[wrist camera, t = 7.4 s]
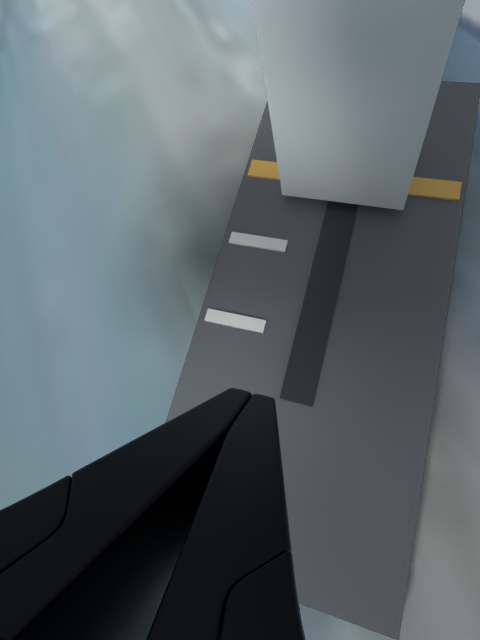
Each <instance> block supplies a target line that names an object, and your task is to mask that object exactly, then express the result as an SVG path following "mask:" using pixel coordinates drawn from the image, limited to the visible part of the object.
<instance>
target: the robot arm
mask: <svg viewBox="0 0 480 640" xmlns="http://www.w3.org/2000/svg"><path fill="white" fill-rule="evenodd" d="M291 550H292V548H291V539H290V530H289V520H288V511H287V502H286V493H285V484H284V475H283V466H282V457H281V448H280V439H279V430H278V421H277V412H276V403H275V399H274V398H272V397H268V396H264V395H260V394H253V395H252V394H251V392H248V391H245V390H241V389H237V388H229V389H227V390H225V391H224V392H222V393H220V394H218V395H216V396H214V397H212V398H211V399H209V400H207V401H205V402H203V403H201V404H199V405H198V406H196V407H194V408H192V409H190V410H188V411H187V412H185V413H183V414H181V415H179V416H177V417H175V418H174V419H172V420H170V421H168V422H166V423H164V424H162V425H161V426H159V427H157V428H155V429H153V430H151V431H150V432H148V433H146V434H144V435H142V436H140V437H138V438H137V439H135V440H133V441H131V442H129V443H127V444H125V445H124V446H122V447H120V448H118V449H116V450H114V451H112V452H111V453H109V454H107V455H105V456H103V457H101V458H100V459H98V460H96V461H94V462H92V463H90V464H88V465H87V466H85V467H83V468H81V469H79V470H77V471H75V472H74V473H73V474H72V478H71V476H66V477H64V478H62V479H60V480H58V481H57V482H55V483H53V484H51V485H49V486H47V487H45V488H43V489H42V490H40V491H38V492H36V493H34V494H32V495H30V496H28V497H26V498H24V499H22V500H20V501H18V502H16V503H14V504H12V505H10V506H8V507H6V508H4V509H2V510H0V640H305V635H304V630H303V626H302V621H301V615H300V608H299V601H298V594H297V588H296V581H295V573H294V563H293V555H292V553H291Z"/></svg>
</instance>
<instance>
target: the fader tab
mask: <svg viewBox="0 0 480 640" xmlns="http://www.w3.org/2000/svg"><path fill="white" fill-rule="evenodd" d="M464 3H465V0H252V6H253V12H254V18H255V25H256V31H257V37H258V44H259V50H260V56H261V63H262V69H263V75H264V82H265V88H266V94H267V101H268V107H269V114H270V120H271V126H272V133H273V139H274V145H275V152H276V158H277V164H278V171H279V177H280V183H281V190H282V195H287V196H294V197H302V198H310V199H318V200H326V201H334V202H342V203H350V204H357V205H365V206H373V207H381V208H389V209H397V210H403V209H404V206H405V203H406V199H407V196H408V193H409V189H410V186H411V182H412V179H413V176H414V172H415V169H416V165H417V162H418V159H419V155H420V152H421V148H422V145H423V142H424V138H425V135H426V131H427V128H428V125H429V121H430V118H431V114H432V111H433V108H434V104H435V101H436V98H437V94H438V91H439V87H440V84H441V81H442V77H443V74H444V70H445V67H446V64H447V60H448V57H449V53H450V50H451V47H452V43H453V40H454V36H455V33H456V30H457V26H458V23H459V19H460V16H461V13H462V9H463V6H464Z"/></svg>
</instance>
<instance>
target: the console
mask: <svg viewBox="0 0 480 640" xmlns="http://www.w3.org/2000/svg"><path fill="white" fill-rule="evenodd" d="M479 98H480V83H462V82H443V81H441V84H440V87H439V91H438V94H437V98H436V101H435V104H434V108H433V111H432V114H431V118H430V121H429V125H428V128H427V131H426V135H425V138H424V142H423V145H422V148H421V152H420V155H419V159H418V162H417V165H416V169H415V172H414V176H413V179H412V182H411V186H410V189H409V193H408V196H407V199H406V203H405V206H404V209H403V210H397V209H389V208H381V207H373V206H365V205H357V204H350V203H342V202H334V201H326V200H318V199H310V198H302V197H294V196H287V195H282V190H281V183H280V177H279V171H278V164H277V158H276V152H275V145H274V139H273V133H272V126H271V120H270V114H269V107H268V101H267V104H266V107H265V110H264V113H263V116H262V120H261V123H260V126H259V129H258V132H257V135H256V139H255V142H254V145H253V148H252V151H251V154H250V157H249V161H248V164H247V167H246V170H245V173H244V176H243V180H242V183H241V186H240V189H239V192H238V195H237V199H236V202H235V205H234V208H233V211H232V214H231V217H230V221H229V224H228V227H227V230H226V233H225V236H224V240H223V243H222V246H221V249H220V252H219V255H218V258H217V262H216V265H215V268H214V271H213V274H212V277H211V281H210V284H209V287H208V290H207V293H206V296H205V300H204V303H203V306H202V309H201V312H200V315H199V318H198V322H197V325H196V328H195V331H194V334H193V337H192V341H191V344H190V347H189V350H188V353H187V356H186V359H185V363H184V366H183V369H182V372H181V375H180V378H179V382H178V385H177V388H176V391H175V394H174V397H173V401H172V404H171V407H170V410H169V413H168V416H167V419H166V422H168V421H170V420H172V419H174V418H175V417H177V416H179V415H181V414H183V413H185V412H187V411H188V410H190V409H192V408H194V407H196V406H198V405H199V404H201V403H203V402H205V401H207V400H209V399H211V398H212V397H214V396H216V395H218V394H220V393H222V392H224V391H225V390H227V389H229V388H237V389H241V390H245V391H248V392H251V394H252V395H253V394H260V395H264V396H268V397H272V398H274V399H275V403H276V412H277V421H278V430H279V439H280V448H281V457H282V466H283V475H284V484H285V493H286V502H287V511H288V520H289V530H290V539H291V548H292V550H291V553H292V555H293V563H294V573H295V581H296V588H297V594H298V601H299V604H302V605H305V606H307V607H310V608H313V609H316V610H318V611H321V612H324V613H326V614H329V615H332V616H334V617H337V618H340V619H342V620H345V621H348V622H350V623H353V624H356V625H359V626H361V627H364V628H367V629H369V630H372V631H375V632H377V633H380V634H383V635H385V636H388V637H391V638H393V639H396V640H399V636H400V629H401V622H402V615H403V609H404V602H405V595H406V589H407V582H408V575H409V568H410V562H411V555H412V548H413V541H414V535H415V528H416V521H417V515H418V508H419V501H420V494H421V488H422V481H423V474H424V467H425V461H426V454H427V447H428V441H429V434H430V427H431V420H432V414H433V407H434V400H435V394H436V387H437V380H438V373H439V367H440V360H441V353H442V346H443V340H444V333H445V326H446V320H447V313H448V306H449V299H450V293H451V286H452V279H453V272H454V266H455V259H456V252H457V246H458V239H459V232H460V225H461V219H462V212H463V205H464V198H465V192H466V185H467V178H468V172H469V165H470V158H471V151H472V145H473V138H474V131H475V124H476V118H477V111H478V104H479Z"/></svg>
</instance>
